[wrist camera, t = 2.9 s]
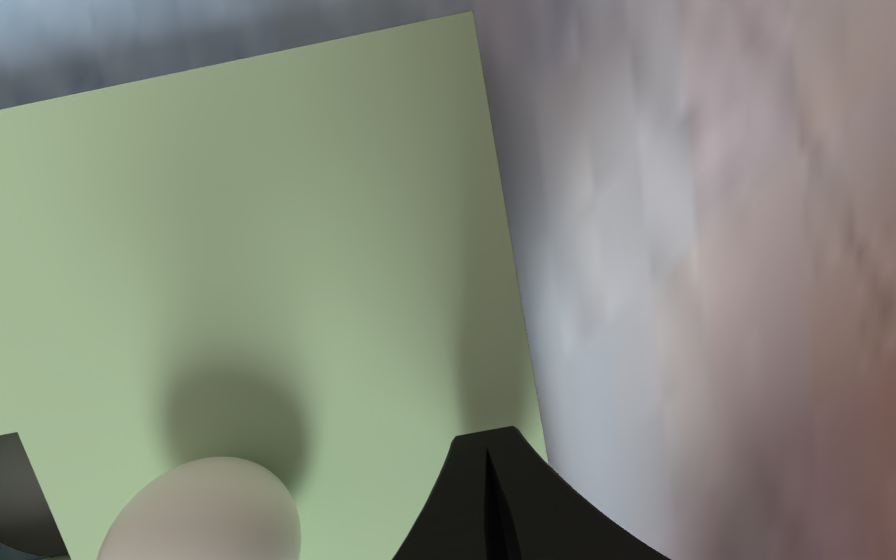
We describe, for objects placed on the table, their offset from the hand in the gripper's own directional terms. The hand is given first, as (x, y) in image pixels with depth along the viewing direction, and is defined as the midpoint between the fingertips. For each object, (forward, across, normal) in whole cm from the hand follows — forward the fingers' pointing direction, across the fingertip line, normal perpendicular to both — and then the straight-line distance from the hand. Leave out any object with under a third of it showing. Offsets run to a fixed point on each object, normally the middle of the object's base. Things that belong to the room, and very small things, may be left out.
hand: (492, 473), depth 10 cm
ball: (-1, +6, 0) cm, 6 cm away
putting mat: (+3, +9, 0) cm, 9 cm away
